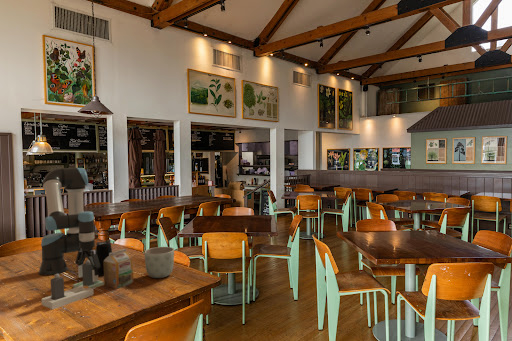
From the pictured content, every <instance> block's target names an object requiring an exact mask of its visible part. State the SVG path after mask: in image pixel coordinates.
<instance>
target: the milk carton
mask: <svg viewBox="0 0 512 341" xmlns="http://www.w3.org/2000/svg"><path fill="white" fill-rule="evenodd" d="M133 263H134V262H133V257H132V256H131V255H130V253H128V251H127V249H126V248H123V249H120V250H116V251H112V253H109V256H108V257H107V258H106V259H105V260H104V275H103V282H104V285H103V286H104V287H107V288H111V289H115V290H118V289H121V288H123V287H127V286H129V285H131V284H134V265H133Z"/></svg>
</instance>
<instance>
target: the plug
mask: <svg viewBox="0 0 512 341" xmlns="http://www.w3.org/2000/svg"><path fill="white" fill-rule="evenodd" d="M92 269H93V267H92V265H91V263H90V261H89V259H87V260H86V259H85V263H83V264H82V272H83V277H82V282H83V286H91V285H94V282H93V273H92Z"/></svg>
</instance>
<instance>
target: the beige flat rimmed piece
mask: <svg viewBox="0 0 512 341" xmlns="http://www.w3.org/2000/svg"><path fill="white" fill-rule="evenodd" d="M92 296H94V288H93V289H92V288H89V286H83V285H82V286H79V287H76V288H69V289H67V290H64V297H63V298H60V299H57V300H53V299H51V295H49V296H46V297H43V298H41V306H43V307H45V308H47V309H50V310H55V309H58V308H61V307H64V306H66V305H69V304H72V303H75V302H78V301H81V300H83V299H86V298H89V297H92Z"/></svg>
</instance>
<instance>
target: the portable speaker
mask: <svg viewBox="0 0 512 341" xmlns="http://www.w3.org/2000/svg"><path fill="white" fill-rule="evenodd" d="M95 246H96V247H95V250H97V256H98V259H99V262H100V265H101V268H99V269H98V277H99V276H100V277H102V276H104V260H105V259H106V258H107V257H108V256H109V253H112V252H113V249H112V244H111V241H110V240H105V241H97V242H96V245H95Z"/></svg>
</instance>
